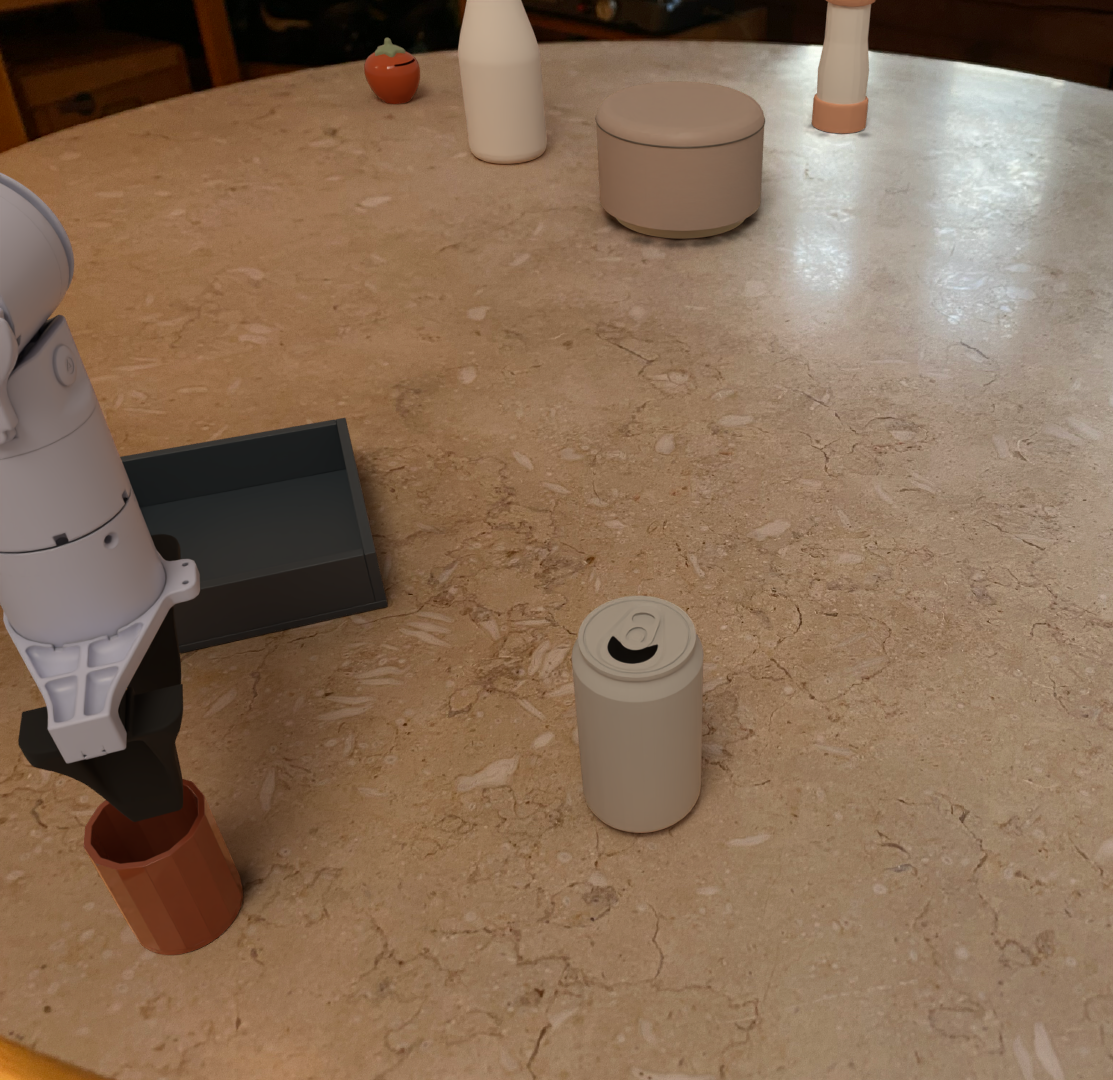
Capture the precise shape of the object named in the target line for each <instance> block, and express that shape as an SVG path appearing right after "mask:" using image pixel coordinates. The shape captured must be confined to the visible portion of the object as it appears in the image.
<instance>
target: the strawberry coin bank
mask: <svg viewBox="0 0 1113 1080" xmlns="http://www.w3.org/2000/svg"><path fill="white" fill-rule="evenodd" d="M363 67H364V68H363V71H364V72H363V73H364V77H365V79H366V82H367V84H368V86H369V87H370V89H371V91H372V92H373V93H374V94H375V96H377V98H379V99H380V100H381V101H383V102H384V103H386V104H390V105H401V104H405V103H408V102H410V101H412V99H413V98H414V96H415V95H416V94H417V91H418V89H419V86H420V82H421V66H420V64H419V61H418V60H417V58H416V57H415V56H414V55H413V54H412V53H410V52H408V51H406V49H404V48H403V47H401V46H400V45H397V44H393V43H392V40H391V38H389V37H385V38H384V41H383V44H382V45H378V46H377V48H376V49H375V51H374V52H372V53H371V54H370V55H368V56H367V58H366V59H365V61H364V65H363Z"/></svg>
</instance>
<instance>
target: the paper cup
mask: <svg viewBox="0 0 1113 1080" xmlns="http://www.w3.org/2000/svg"><path fill="white" fill-rule="evenodd" d="M182 779H183V808H182V809H181V810H179V811H175V812H171V813H167V814H164V815H160V816H156V817H153V818H149V819H145V820H141V821H138V822H133V821H131V820H130V819H129V818H127V817H126V816H125V815H123V814H122V813H121V812H120V811H118V810H117V809H116V808H115V807H114V806H112V805H111V804H110V803H109V802H108V801H107V800H105V799H104V801H102V802H101V803H100V804H99V805H98V806H97V807H96V808H95V810H94V811H93V813H92V815H91V816H90V818H89V820H88V821H87V822H86V824H85V826H84V834H83V849H84V851H85V853H86V854H87V856H88V858H89V860H90V862H91V864H92V865H93V867H94V869H95V870H96V872H97V873H98V875H99V877H100V878H101V880H102V882H103V884H104V886H105V888H106V889H107V891H108V893H109V895H110V896H111V898H112V899H113V901H114V903H115V905H116V907H117V908H118V910H119V911H120V913H121V916H122V917H123V918H124V920H125V922H126V924H127V925H128V927H129V929H130V931H131V932H132V933H133V935H134V937H135V938H136V940H137V941H138V942H139V944H140V945H141V946H142V947H143V948H145V949H146V950H148V951H150V952H152V953H155V954H157V955H158V954H159V955H163V956H164V955H165V956H176V955H183V954H187V953H191V952H193V951H197V950H199V949H201V948H203V947H205V946H207V945H209V944H211V943H212V942H214V941H215V940H217V939H218V938H219V937H221V935H223V934H224V933H225V932H226V931H227V930H228V929H229V928H230V926H231V925H232V924H233V923H234V921H235V920H236V919H237V917H238V915H239V913H240V911H241V907H242V905H243V901H244V889H243V884H242V879H241V876H240V873H239V871H238V869H237V867H236V865H235V862H234V860H233V858H232V855H231V853H230V851H229V848H228V847H227V844H226V842H225V839H224V837H223V835H222V832H221V830H220V828H219V826H218V824H217V821H216V819H215V816H214V814H213V812H212V810H211V808H210V805H209V803H208V801H207V798H206V795H205V794H204V793H203V791H201V790H200V788H199V787H198V786H197V785H196V783H194V781H191V780H188V779H185V778H182Z"/></svg>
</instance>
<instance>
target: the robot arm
mask: <svg viewBox="0 0 1113 1080" xmlns="http://www.w3.org/2000/svg"><path fill="white" fill-rule="evenodd" d="M74 272H75V256H74V251H73V246H72V244H71V240H70V238H69V235H68V232H67V231H66V229H65V227H64V225H63V224H62V222H61V221H60V219H59V218H58V217H57V215H56V214H55V212H54V211H53V210H52V209H51V208H50V206H48V205H47V203H46V202H45V201H43V200H42V198H41V197H39V196H38V195H37V194H36V193H35V192H34V191H32V190H31V189H30V188H28V187H27V186H25V185H24V184H22V183H21V182H19V181H18V180H16V179H14V178H13V177H10V176H8V175H6V174H5V173H3V172H0V607H1V609H2V611H3V615H2V617H3V618H2V619H3V620H2V622H3V624H4V627H5V629H6V631H7V634H8V635H9V637H10V638H11V640H12V642H13V645H14V646H15V648H16V649H17V651H18V654H19V656H20V657H21V659H22V661H23V663H24V664H25V666H26V668H27V670H28V672H29V674H30V676H31V677H32V679H33V681H34V683H35V685H36V686H37V689H38V690H39V692H40V693H41V696H42V698H43V701H44V703H45V706H41V707H37V708H33V709H29V710H23V711H22V712H21V716H20V725H19V732H18V739H17V743H18V747H19V749H20V751H21V752H22V754H23V756H24V757H25V759H26V760H27V762H28V764H30V765H31V766H32V767H33V768H36V769H39V770H44V771H49V772H53V773H56V774H60V775H62V776H66V777H68V778H71V779H74V780H76V781H78V782H80V783H81V784H83V785H85V786H86V787H89V788H90V789H91V790H93V791H94V792H95V793H97V794H98V795H99V796H101V797H102V798H103V799H104V801H105V800H107V801H108V802H109V803H110V804H111V805H112V806H114V807H115V808H116V809H117V810H118V811H120V812H121V813H122V814H123V815H125V816H126V817H127V818H129V819H130V820H131V821H133V822H138V821H141V820H145V819H149V818H153V817H156V816H160V815H164V814H167V813H171V812H175V811H179V810H181V809H182V808H183V779H184V778H183V773H182V769H181V764H180V763H181V762H180V759H179V755H178V750H177V744H176V742H177V738H178V735H179V733H180V731H181V727H182V721H183V715H184V684H183V683H182V659H181V653H180V650H179V643H178V637H177V630H176V623H175V615H174V605H175V604H177V603H181V602H185V601H189V600H192V599H194V598H195V597H196V596H198V595H199V592H200V574H199V571H198V569H197V566H196V563H195V562H194V561H193V560H191V559H181V550H180V546H179V543H178V540H177V539H176V538H175V537H173V536H171V535H167V534H157V535H150V533H149V530H148V528H147V525H146V523H145V520H144V518H143V515H142V512H141V510H140V507H139V505H138V502H137V499H136V497H135V494H134V491H133V489H132V486H131V484H130V481H129V478H128V476H127V473H126V470H125V468H124V465H123V463H122V460H121V458H120V457H121V455H120V452H119V451H118V448H117V444H116V443H115V440H114V437H113V434H112V433H111V429H110V427H109V424H108V422H107V419H106V417H105V415H104V412H103V409H102V407H101V404H100V402H99V399H98V397H97V394H96V392H95V389H94V387H93V384H92V381H91V379H90V377H89V375H88V372H87V370H86V367H85V365H84V362H83V360H82V356H81V355H80V352H79V349H78V347H77V344H76V342H75V339H74V337H73V334H72V332H71V329H70V327H69V324H68V321H67V320H66V317H65V316H64V315H62V314H57V315H55V316H54V317H51V316H52V315H53V314H54V312H55V311H56V310H57V309H58V307H59V306H60V305H61V303H62V302H63V300H64V298H65V296H66V294H67V291H68V290H69V288H70V287H71V283H72V281H73V278H74ZM50 317H51V318H50Z"/></svg>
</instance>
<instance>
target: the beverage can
mask: <svg viewBox="0 0 1113 1080" xmlns="http://www.w3.org/2000/svg"><path fill="white" fill-rule="evenodd" d="M704 656H705V655H704V648H703V642H702V640H701V638H700V637H699V635H698V633H697V630H696V626H695V623H694V621H693V620H692V618H691V617H690V616H689V614H688V613H687V612H686V611H685V610H684V609H683V608H681V607H680V606H679V605H677V604H675V603H673V602H671V601H669V600H666V599H664V598H660V597H657V596H651V595H627V596H622V597H618V598H614V599H611V600H609V601H606V602H603V603H602V604H600V605H598V606H597V607H596V608H594V609H592V610H591V611H590V612H589V613H588V614H587V615H586V616H585V617H584V619H583V620H582V622H581V624H580V626H579V629H578V633H577V638H576V639H575V641H574V643H573V646H572V650H571V670H572V679H573V680H572V681H573V691H574V692H573V693H574V704H575V705H574V706H575V714H576V715H575V716H576V725H577V737H578V738H577V739H578V749H579V750H578V751H579V761H580V772H581V783H582V785H581V786H582V794H583V797H584V800H585V802H586V805H587V807H588V808H589V810H590V811H591V812H592V814H593V815H594V816H595V817H597V819H599V820H600V821H601V822H603V824H605V825H607V826H609V827H611V828H614V829H615V830H619V831H622V832H627V833H635V834H642V833H643V834H644V833H652V832H657V831H661V830H664V829H667V828H669V827H671V826H673V825H675V824H677V823H678V822H681V820H683V819H684V818H685V817H687V815H688V814H689V813H690V812H691V811H692V809H693V808H694V806H695V805H696V803H697V802H698V799H699V796H700V793H701V789H702V788H701V787H702V752H703V751H702V749H703V703H704V701H703V699H704V698H703V697H704Z"/></svg>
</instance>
